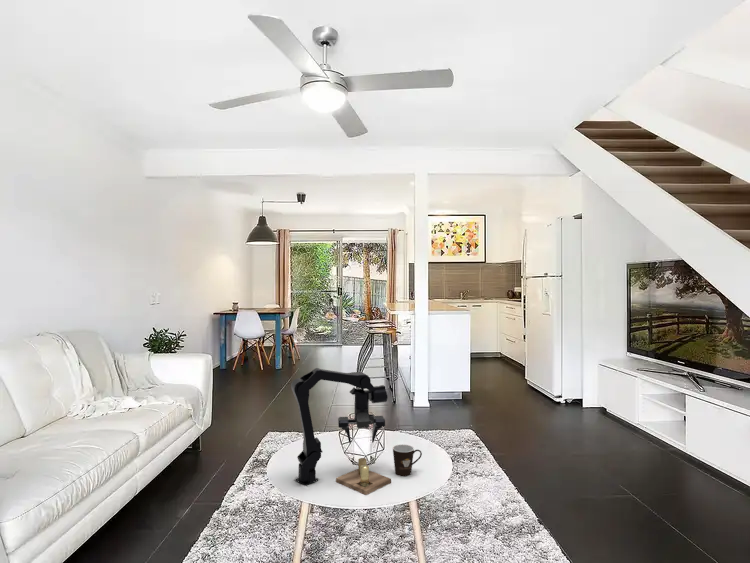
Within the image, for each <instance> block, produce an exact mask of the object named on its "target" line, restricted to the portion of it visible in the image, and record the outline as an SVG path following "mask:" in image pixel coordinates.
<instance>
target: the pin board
mask: <svg viewBox="0 0 750 563" xmlns="http://www.w3.org/2000/svg"><path fill="white" fill-rule="evenodd" d="M357 461H358V466H357V467H358V468H355V469H353V470H352V471H349V472H347V473H344V474H342V475H339V476H338V477H337V476H336V477H335V482H336V483H338V484H340V485H342V486H344V487H346V488H349V489H351V490H353V491H356V492H358V493H361V494H363V495H365V496H368V495H369V494H371V493H373V492H376V491H377V490H379V489H381V488H383V487H386V486H387V485H389V484H392V478H391V477H387V476H385V475H383V474H380V473H378V472H375V471H373V470H370V469H369V486H367V487H362V486H360V466H361V465H367V462H368V461H367V458H365V457H359V458H358V459H357Z"/></svg>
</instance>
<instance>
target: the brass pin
mask: <svg viewBox="0 0 750 563" xmlns="http://www.w3.org/2000/svg"><path fill="white" fill-rule="evenodd" d="M369 470H370V465H368V464H366V465H361V466H360V486H362V487H367V486H369Z"/></svg>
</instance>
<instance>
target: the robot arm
mask: <svg viewBox="0 0 750 563" xmlns="http://www.w3.org/2000/svg"><path fill="white" fill-rule="evenodd" d="M320 381H327V382H335V383H342V384H347V385H350V386H353V387H352V389H351V390H349V393H350V394H351V395H352V396H354V418H352V419H351V418H350V419H349V417H348V416H339V417H338V418H337V425H338V428H340V429H341V430H344V431H345V434H346V436H347V439H348V442H349V444H352V443H351V434H350V433H351V432H350V431H351V430H350V425H356V428H358V429H363V428H364V429H368V428H369V427H370V425H372V432H371V433H372V434H371V442H372V443H374V442H375V438H376V436H377V433H378V431H379V430H380V429H382V428H383V427H386V419H385V417H384V415H375V414H372V413H371V414H370V413H369V412H370V411H369V409H370V408H369V407H370V405H369V402H371V403H372V404H380V403H381V404H382V403H386V402H388V392H387V389H386V385H384V384H382V385H375V386H374V385H373V384H372V383H371V381H372V380H371V378H370V376H369V375H368V374H366V373H364V372H361V371H355V372H354V371H353V372H341V371H337V370H329V369H322V368H319V367H316V368H314V369H312V370H310V372H307V373H305V374H303V375H302V376H300V377H298V378H295V379H293V380H292V382H291V383H290V389H291V391H292V393H293V396H294V398H295V401H296V403H297V407H298V413H299V418H300V423H301V428H302V435H303V442H302V450H301V452H300V453H299V454H298V455H297V457H296V458H297V460H298V477H297V478H295V480H294V481H295V482H297V483H299V484H302V485H304V486H308V485H310V484H313V483H315V482H317V481H319V478H317V477H316V466H317V465H318V464H317V463H318V461H320V459H321V458H322V453H323V450H322V443H321V441H320V440H319V438H318V437H315V432H314V427H313V422H312V415H311V410H310V405H309V399H310V390H311V389H313V388H314V387H315V386H316V385H317V384H318V382H320Z"/></svg>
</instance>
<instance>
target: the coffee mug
mask: <svg viewBox="0 0 750 563" xmlns="http://www.w3.org/2000/svg"><path fill="white" fill-rule="evenodd" d="M417 452H419V453H420V454H419V456H418V458H417V459H416V460H413V459H414V455H415V453H417ZM392 454H393V463H394V471H395V472H394V473H395V475H396V476H399V477H408V476H411V474H412V469H413V465H414V464H416V463H417V462H418V461H419V460H420V459H421V458H422V455H423V452H422V450H420V449H415V448H414V446H412V445H409V444H397V445H393V446H392Z"/></svg>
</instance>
